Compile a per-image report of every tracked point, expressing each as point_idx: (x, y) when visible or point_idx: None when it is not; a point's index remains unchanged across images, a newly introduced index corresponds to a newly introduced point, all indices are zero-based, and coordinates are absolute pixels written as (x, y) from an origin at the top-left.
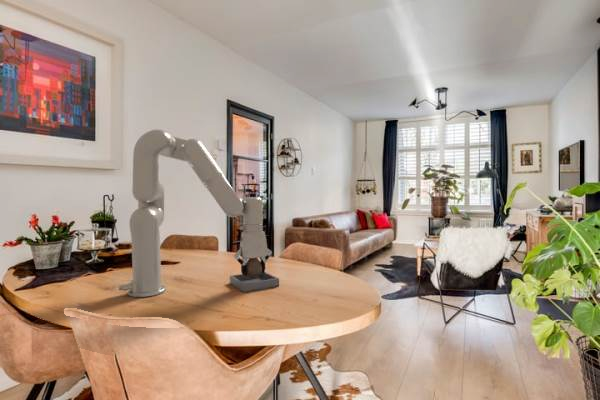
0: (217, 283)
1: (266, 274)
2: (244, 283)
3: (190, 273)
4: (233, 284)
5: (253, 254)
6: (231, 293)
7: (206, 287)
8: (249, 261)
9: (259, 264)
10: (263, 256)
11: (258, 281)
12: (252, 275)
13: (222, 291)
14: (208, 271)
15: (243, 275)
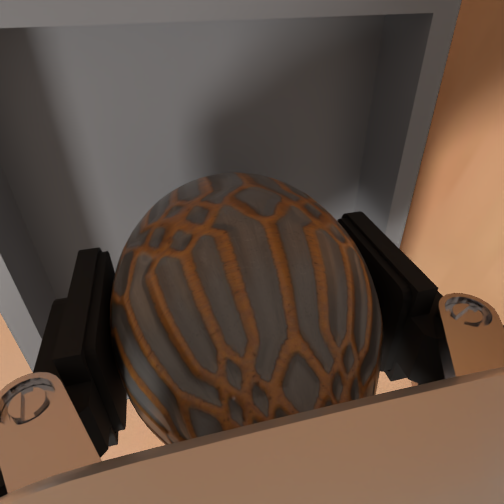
0: None
1: (36, 315)
2: (433, 23)
3: None
4: None
5: (474, 493)
6: (492, 32)
7: (497, 270)
8: (373, 372)
9: (187, 292)
10: (61, 478)
11: (246, 6)
12: (283, 182)
13: (497, 136)
14: None
15: None
